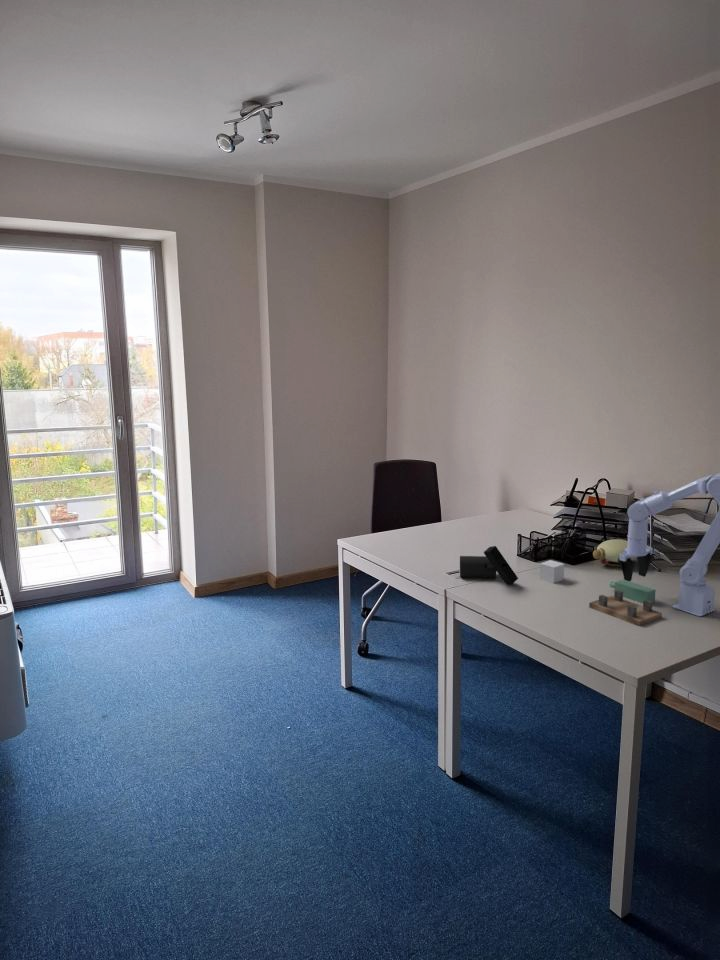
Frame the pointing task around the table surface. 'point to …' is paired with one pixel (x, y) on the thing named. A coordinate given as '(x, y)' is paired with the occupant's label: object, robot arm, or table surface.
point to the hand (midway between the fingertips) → (634, 578)
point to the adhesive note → (551, 571)
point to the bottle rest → (626, 609)
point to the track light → (487, 566)
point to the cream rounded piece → (611, 551)
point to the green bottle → (634, 591)
